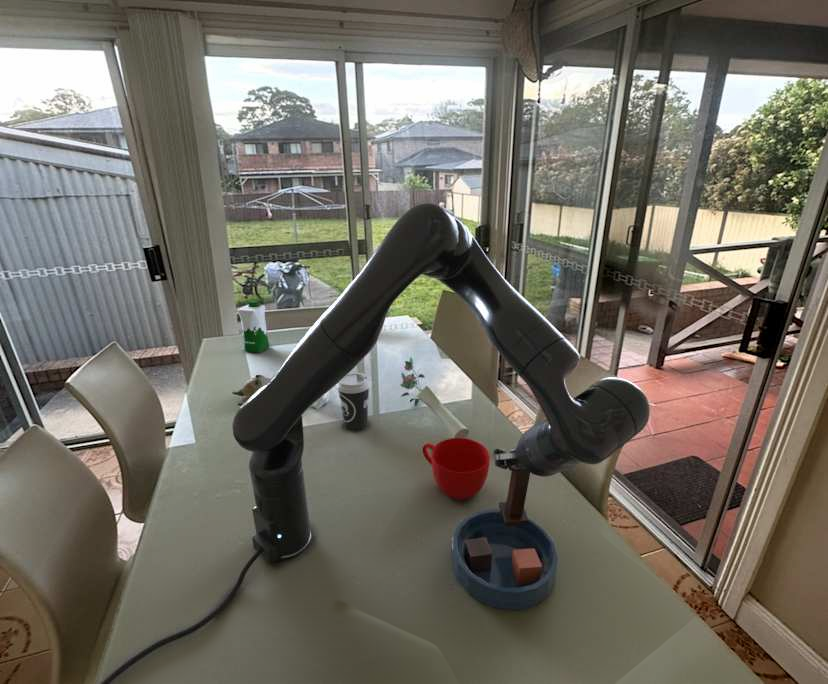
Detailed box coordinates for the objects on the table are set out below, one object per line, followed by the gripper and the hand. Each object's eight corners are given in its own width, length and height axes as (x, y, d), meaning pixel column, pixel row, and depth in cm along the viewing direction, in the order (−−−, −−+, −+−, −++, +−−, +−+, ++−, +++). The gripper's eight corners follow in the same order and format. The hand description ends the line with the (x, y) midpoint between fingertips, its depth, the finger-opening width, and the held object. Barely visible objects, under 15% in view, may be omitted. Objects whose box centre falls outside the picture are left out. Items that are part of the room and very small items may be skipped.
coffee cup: (366, 436, 122) (364, 388, 117) (334, 432, 124) (330, 384, 118) (376, 418, 131) (374, 372, 125) (345, 415, 133) (342, 370, 127)
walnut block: (469, 573, 79) (470, 556, 78) (464, 555, 83) (464, 539, 82) (491, 570, 80) (492, 554, 78) (484, 553, 84) (485, 536, 82)
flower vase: (446, 465, 122) (388, 391, 146) (482, 443, 125) (420, 374, 150) (440, 439, 114) (381, 366, 139) (479, 416, 118) (414, 348, 142)
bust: (326, 416, 136) (345, 386, 136) (305, 408, 132) (325, 376, 132) (315, 400, 146) (333, 371, 146) (296, 391, 142) (314, 362, 142)
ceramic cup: (439, 459, 112) (439, 426, 108) (498, 487, 102) (500, 451, 98) (406, 486, 103) (405, 450, 99) (467, 520, 93) (469, 481, 89)
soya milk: (272, 346, 185) (266, 300, 178) (259, 354, 177) (252, 306, 170) (254, 343, 188) (247, 298, 180) (241, 351, 180) (233, 304, 172)
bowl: (524, 636, 69) (527, 613, 68) (432, 572, 81) (432, 551, 79) (570, 561, 83) (574, 540, 81) (485, 515, 94) (486, 496, 92)
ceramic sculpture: (283, 375, 139) (233, 389, 132) (287, 398, 142) (239, 413, 135) (274, 363, 147) (227, 376, 141) (279, 386, 151) (233, 399, 144)
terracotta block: (518, 585, 77) (519, 568, 76) (511, 566, 81) (513, 549, 79) (540, 583, 77) (542, 566, 76) (532, 564, 81) (534, 548, 80)
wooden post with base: (528, 524, 82) (541, 461, 75) (504, 526, 82) (515, 462, 74) (521, 505, 86) (532, 443, 78) (498, 506, 86) (507, 444, 78)
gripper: (590, 418, 66) (551, 441, 82) (500, 423, 65) (477, 445, 81) (602, 470, 63) (559, 483, 79) (507, 475, 62) (482, 487, 78)
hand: (518, 464), depth 80 cm, fingers closed on wooden post with base, 2 cm apart
